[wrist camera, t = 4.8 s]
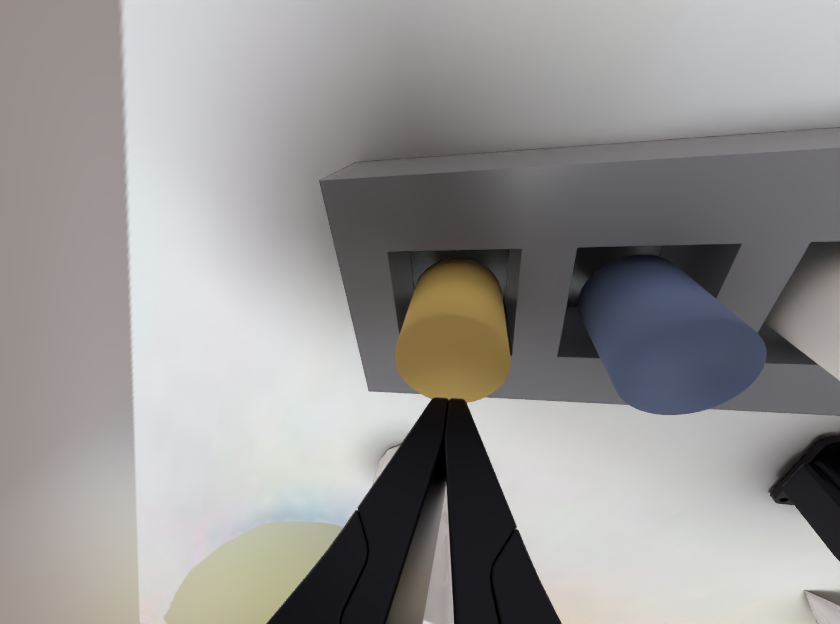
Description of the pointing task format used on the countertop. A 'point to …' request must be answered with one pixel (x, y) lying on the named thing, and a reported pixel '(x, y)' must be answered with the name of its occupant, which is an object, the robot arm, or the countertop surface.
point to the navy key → (667, 337)
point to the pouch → (823, 609)
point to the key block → (594, 245)
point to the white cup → (435, 565)
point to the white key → (812, 306)
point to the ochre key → (455, 333)
